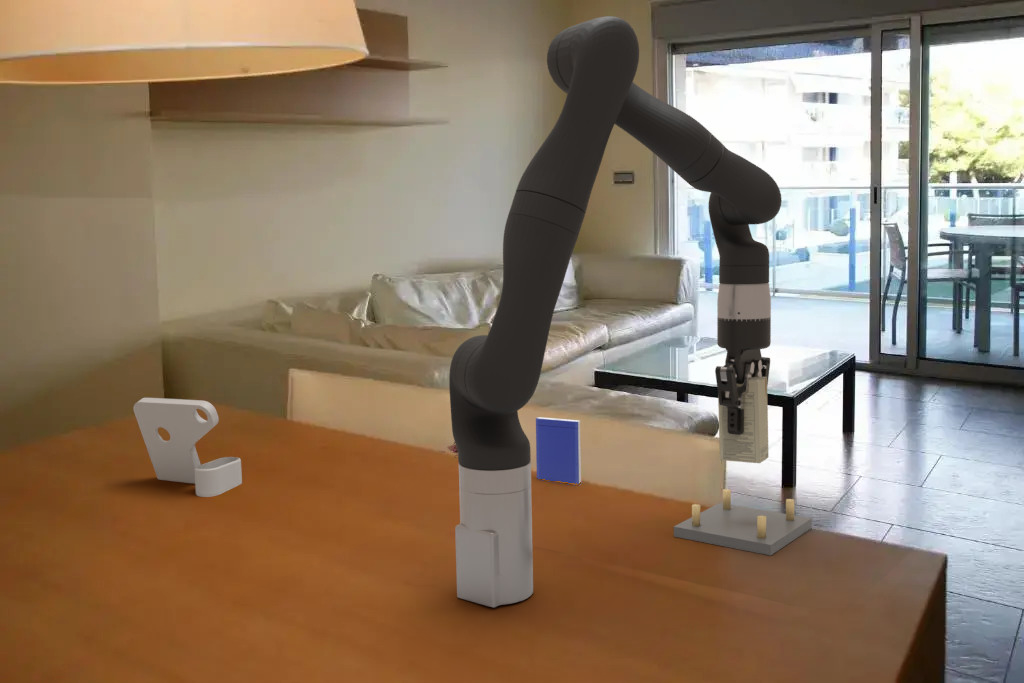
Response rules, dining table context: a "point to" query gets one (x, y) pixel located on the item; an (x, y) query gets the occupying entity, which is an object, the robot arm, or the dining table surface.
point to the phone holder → (184, 444)
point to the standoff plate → (743, 526)
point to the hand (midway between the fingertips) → (743, 430)
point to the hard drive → (558, 450)
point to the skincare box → (747, 427)
